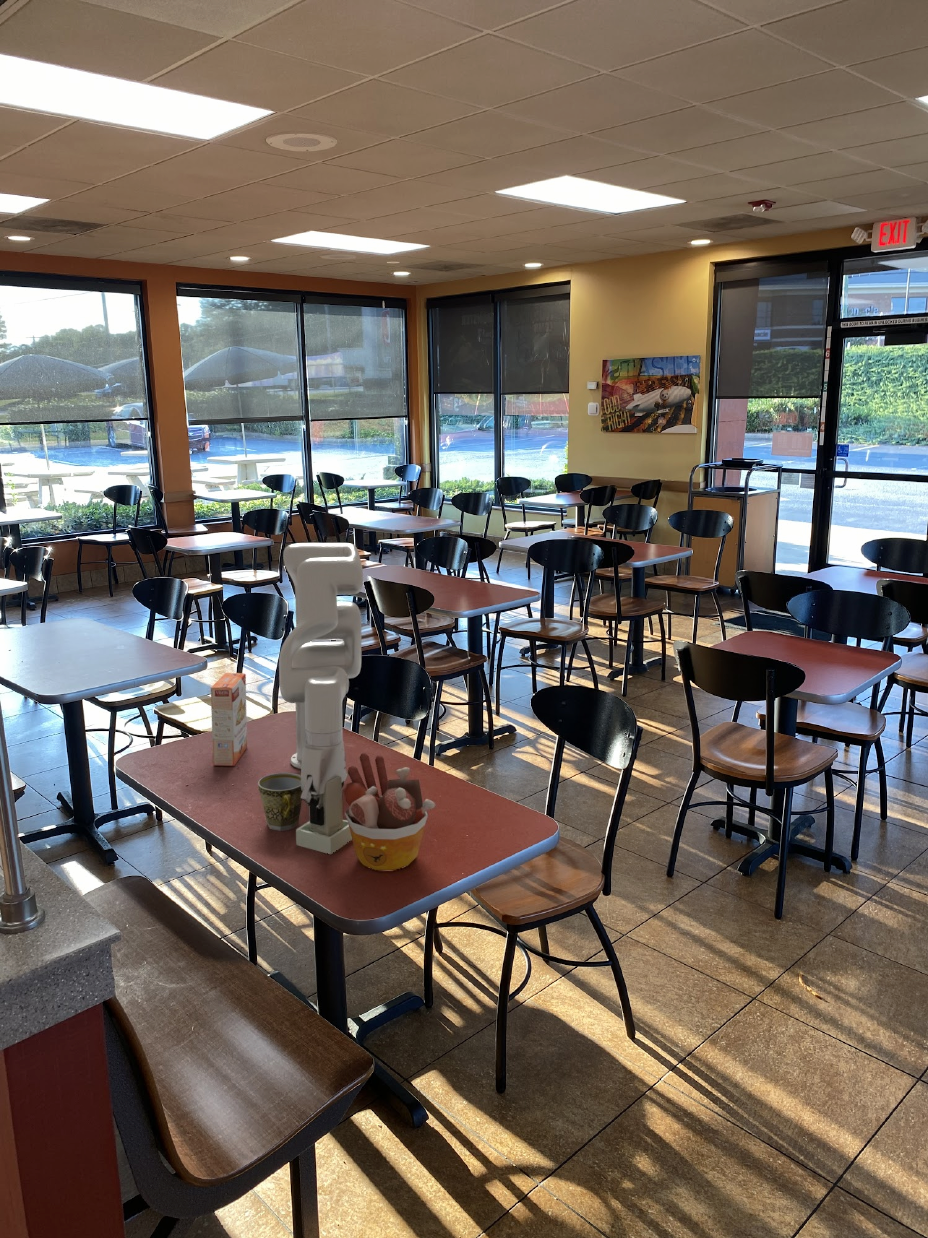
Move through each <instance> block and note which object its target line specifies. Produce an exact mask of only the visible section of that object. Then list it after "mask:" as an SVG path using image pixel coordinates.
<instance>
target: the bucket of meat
mask: <svg viewBox="0 0 928 1238" xmlns="http://www.w3.org/2000/svg"><path fill="white" fill-rule="evenodd" d="M359 761H360V766H361V769H362V771H363V772H362V773H363V777H364V780H365V781H363V778H362V777H361V774H360V772H359V770H358V768H357V767H356V766H353V765H351V766H349V767H348V769H347V773H348V776H349V778H350V780H351V782H349V783H347V784H346V786H345V788H344V790H343V793H344V798H345V802H346V804H347V805H348V806H349V808H348V809H347V810H346V811H345V812H344V814H345V817H346V820H347V821H348V824H349V828H350V832H351V836H352V840H351V841H352V845H353V848H354V852H355V856H356V857H357V859H358V860H359V862H360V863H361V864H362V865H363V866H364V867H365V866H367V867H370V868H373V869H375V870H374V871H376V870H395V871H397V870H396V869H399V868H402V867H404V866H407V867H408V866H409V865H410V864H411V863H412V862H413V861H414V860H415V859H416V858H417V857H418V856H419V852H420V846H421V843H422V840H423V839H422V837H423V834H424V831H425V826H426V822H427V819H428V816H429V814H428V810H433V809H434V808H435V807H436V804H435V802H434V801H432V800H430V799H429V798H426V799H425V800H424V801H423V796H422V790H421V784H420V780H419V779H408V776H409V775H410V773H411V769H410V767H407V766H405V767H402V768H399V769H396V771H395V774H396V776H398V778H395V779H394V778H392V779H388V774H387V768H386V764H385V760H384V757H383V756H382V755H378V754H377V755H376V756H375V761H374V762H375V766H376V772H377V776H378V782H379V787H380V793H381V795H380V794H379V791H378V790H379V789H378V787H377V784H376V780H375V776H374V775H375V774H374V772H373V768H372V764H371V760H370V756H369V755H368V754H367V753H366V752H363V753H361V754H360V756H359ZM364 782H365V783H364ZM367 867H366V868H367ZM370 868H369V869H370ZM373 869H372V870H373ZM402 869H403V868H402ZM399 870H400V869H399Z"/></svg>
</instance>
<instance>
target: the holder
mask: <svg viewBox="0 0 928 1238" xmlns="http://www.w3.org/2000/svg"><path fill="white" fill-rule="evenodd" d="M295 840H296V841H295V842H296V846H299V847H303V848H305V849H309V850H314V851H316V852H321V853H324V854H327V853H328V854H329V855H333V854H334V853H336V852H337V851H339V849H341V848H342V847H344V846H345V845H347V844H348V843H350V842H351V841H353V840H352V836H351V832H350V828H349V824H348V820H347V819H343V828H342V829H341V830H339V831H338V832H336V833H335V834H333V835H332V836H330V837H328V836H325V835H321V834H319V833H317V832H314V831H312V830H310V821H309V820H308V821H307V822H306V823H304V824H302V825H301V826H300V827H297V828H296V829H295ZM350 840H351V841H350ZM349 841H350V842H349ZM347 842H348V843H347ZM343 845H344V846H343ZM336 850H337V851H336ZM333 852H334V853H333Z"/></svg>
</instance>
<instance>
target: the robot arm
mask: <svg viewBox="0 0 928 1238" xmlns="http://www.w3.org/2000/svg"><path fill="white" fill-rule="evenodd" d="M282 557H283V563H284V567H285V568H286V571H287V573H288V575H289V576H290V579H291V580H292V582H293V585H294V593H295V596H294V597H295V599H294V600H295V625H296V626H295V627H294V628H293V630H291V631H290V633H289V634H288V636H287V637H286V639H285V640H284V642H283V643H282V645H281V649H280V652H279V660H278V668H279V669H278V671H279V672H278V674H279V677H278V679H279V680H278V681H279V692H280V695H281V697H282V699H283V700H284V702H287V703H290V704H295V735H296V736H295V737H296V738H295V739H296V752H295V753H294V754H292V756H291V757H290V764H291V765H292V766H293V767H294V768H296V769H299V770H300V776H301V790H302V791H303V792H302V795H301V799H302V801H304V802H305V803H306V804H307V807H309V806H310V823H312V824H316V825H319V826H322V825H324V807H322V801H323V794H324V793H325V790H326V783H327V782H328V781H330V780H332V779H334V778H336V777H338V776H340V777H341V779H342V789H343V787H344V785H345V781H346V780H347V777H348V776H349V774H348V771H347V769H346V764H347V763H346V753H345V745H344V744H345V743H344V739H343V737H344V736H343V733H344V732H343V700H344V699H345V696H346V694H348V692H349V687H350V681H349V679H354V678H356V677H357V676H358V675H359V674H360V672H361V668H362V617H361V615H362V614H361V611H360V608H359V606H358V605H357V604H356V603H355V602H353V601H348V600H345V601H344V600H342V601H341V600H338V595H340V596H341V595H356V594H357V595H358V594H359V593H360V591H362V589H363V585H364V570H363V565H362V560H361V557H360V553H359V550H358V548H357V546H356V545H355V544H353V543H349V542H297V543H292V544H288V545H286V547H284V550H283V556H282ZM336 640H337V641H336ZM314 790H316V791H314ZM314 795H317V796H318V798H317V800H316V799H315V798H314Z"/></svg>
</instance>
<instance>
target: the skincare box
mask: <svg viewBox="0 0 928 1238" xmlns="http://www.w3.org/2000/svg"><path fill="white" fill-rule="evenodd" d="M314 791H316V790H314ZM314 798H315V799H316V800H317V798H318V796H317V795H314ZM322 807H324V825H322V826H319V825H316V824H312V823H310V830H312V831H314V832H317V833H319V834H321V835H325V836H328V837H330V836H332V835H333V834H335V833H336V832H338V831H339V830H341V829H342V828H343V820H344V819H343V818H344V817H343V788H342V779H341V777H340V776H338V777H336V778H334V779H332V780H330V781H328V782H327V783H326V790H325V793H324V794H323V801H322ZM308 814H309V815H308V817H309V820H308V822H309V821H310V806H308Z"/></svg>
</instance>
